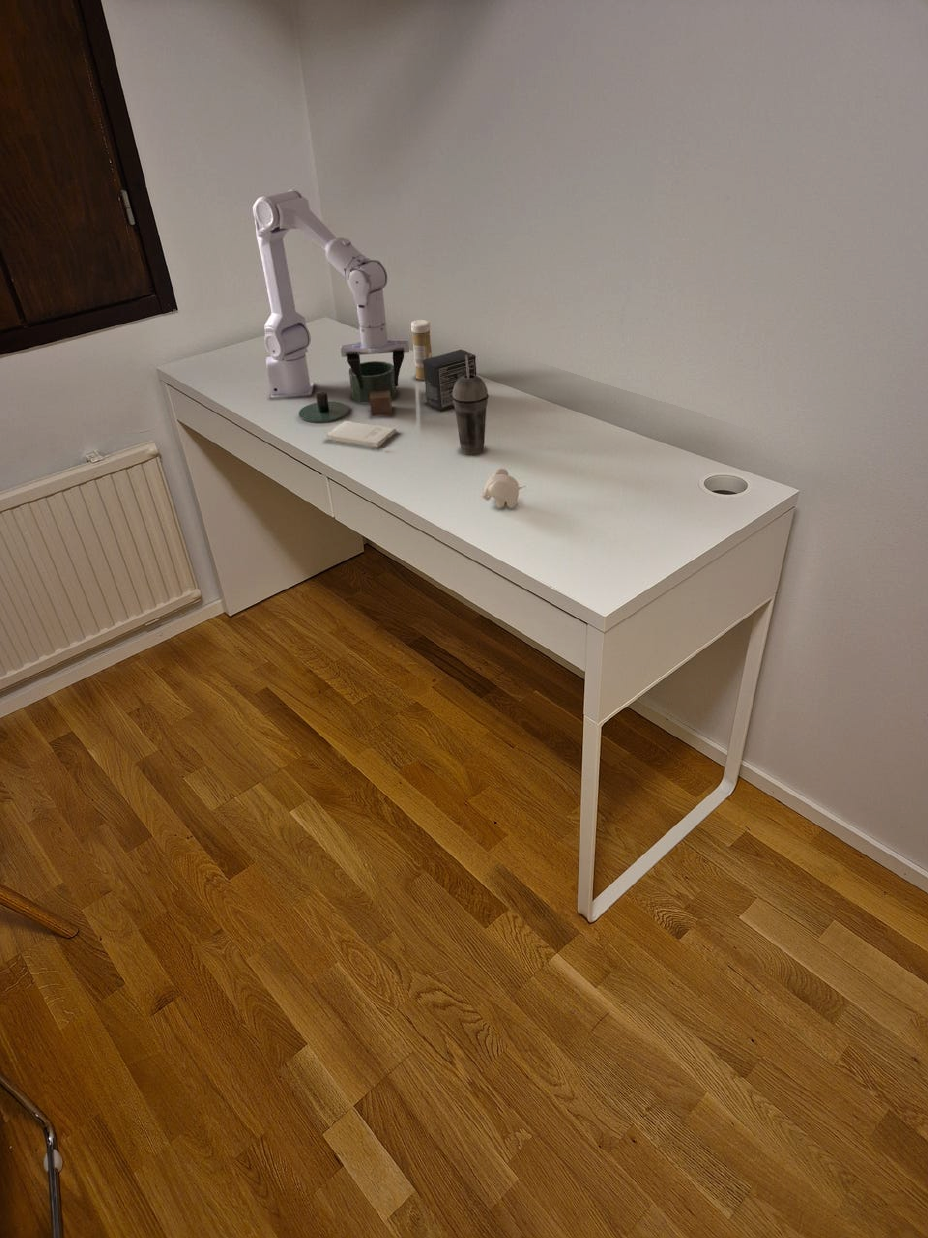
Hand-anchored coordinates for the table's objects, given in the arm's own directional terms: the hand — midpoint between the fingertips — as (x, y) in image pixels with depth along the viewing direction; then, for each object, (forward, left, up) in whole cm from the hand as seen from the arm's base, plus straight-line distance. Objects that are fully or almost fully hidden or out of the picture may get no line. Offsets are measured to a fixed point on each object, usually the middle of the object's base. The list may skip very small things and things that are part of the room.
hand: (379, 385), depth 190 cm
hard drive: (-4, -13, -6) cm, 15 cm away
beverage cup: (+19, -23, -6) cm, 31 cm away
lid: (-13, +1, -6) cm, 14 cm away
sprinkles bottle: (+10, +21, -6) cm, 24 cm away
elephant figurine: (+23, -47, -6) cm, 53 cm away
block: (0, 0, -6) cm, 6 cm away
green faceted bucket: (-2, +11, -6) cm, 13 cm away
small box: (+16, +4, -6) cm, 18 cm away
